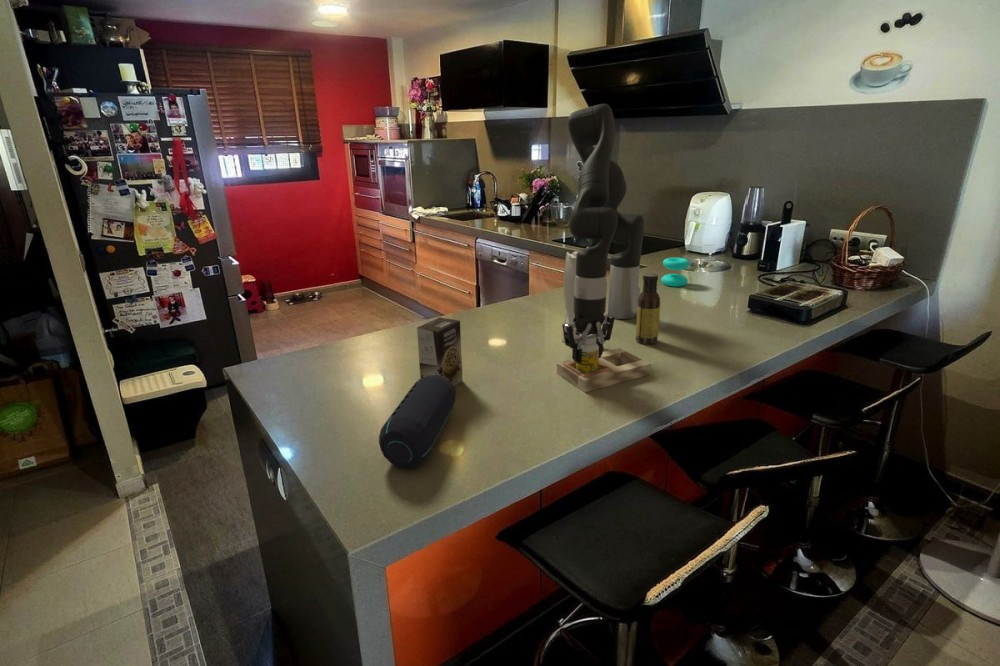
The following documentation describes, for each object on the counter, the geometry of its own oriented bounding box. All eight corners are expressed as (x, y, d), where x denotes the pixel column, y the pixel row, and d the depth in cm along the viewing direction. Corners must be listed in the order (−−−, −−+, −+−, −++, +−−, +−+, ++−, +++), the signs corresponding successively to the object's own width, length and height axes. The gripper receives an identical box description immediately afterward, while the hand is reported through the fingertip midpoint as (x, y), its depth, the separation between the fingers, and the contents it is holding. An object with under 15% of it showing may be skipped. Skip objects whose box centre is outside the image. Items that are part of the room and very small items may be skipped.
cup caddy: (618, 358, 144) (619, 346, 143) (649, 374, 134) (650, 362, 133) (556, 373, 135) (556, 361, 134) (584, 392, 125) (584, 379, 124)
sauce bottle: (662, 342, 154) (668, 275, 147) (647, 346, 151) (653, 278, 144) (645, 335, 159) (650, 270, 152) (630, 340, 156) (635, 274, 149)
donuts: (660, 256, 214) (685, 256, 213) (658, 281, 217) (682, 280, 217) (667, 262, 204) (693, 262, 204) (665, 287, 208) (690, 287, 208)
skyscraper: (594, 341, 156) (598, 246, 146) (579, 348, 151) (582, 250, 141) (571, 334, 161) (574, 243, 151) (557, 341, 156) (559, 247, 146)
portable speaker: (418, 408, 120) (414, 367, 116) (460, 411, 118) (458, 370, 115) (374, 474, 97) (368, 426, 93) (426, 479, 95) (422, 430, 91)
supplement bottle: (599, 369, 134) (601, 333, 130) (596, 377, 129) (598, 341, 125) (577, 366, 135) (579, 331, 132) (574, 375, 130) (575, 339, 127)
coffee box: (441, 396, 125) (437, 331, 119) (420, 389, 128) (415, 327, 122) (464, 381, 132) (461, 320, 126) (443, 375, 135) (439, 315, 130)
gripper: (604, 285, 131) (601, 349, 137) (555, 294, 125) (554, 360, 131) (624, 293, 125) (620, 359, 131) (573, 302, 119) (571, 371, 125)
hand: (587, 359), depth 131 cm, fingers closed on supplement bottle, 5 cm apart
